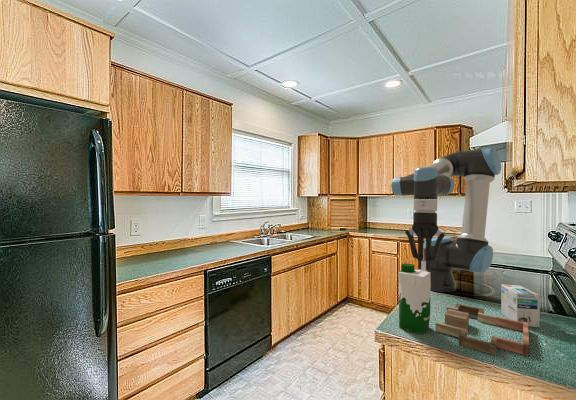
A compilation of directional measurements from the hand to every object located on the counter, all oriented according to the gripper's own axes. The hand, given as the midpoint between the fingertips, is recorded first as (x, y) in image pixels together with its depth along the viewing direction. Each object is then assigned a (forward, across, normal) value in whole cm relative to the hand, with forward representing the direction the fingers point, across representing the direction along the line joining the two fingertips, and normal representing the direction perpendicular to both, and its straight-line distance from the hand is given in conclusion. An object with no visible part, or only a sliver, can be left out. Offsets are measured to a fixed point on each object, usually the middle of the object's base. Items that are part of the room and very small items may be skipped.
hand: (424, 278), depth 102 cm
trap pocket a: (+13, +12, +12) cm, 22 cm away
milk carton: (+14, 0, -10) cm, 17 cm away
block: (+14, +10, 0) cm, 17 cm away
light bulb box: (+14, +26, +18) cm, 35 cm away
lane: (+14, +16, 0) cm, 21 cm away
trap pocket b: (+14, +17, -11) cm, 25 cm away
